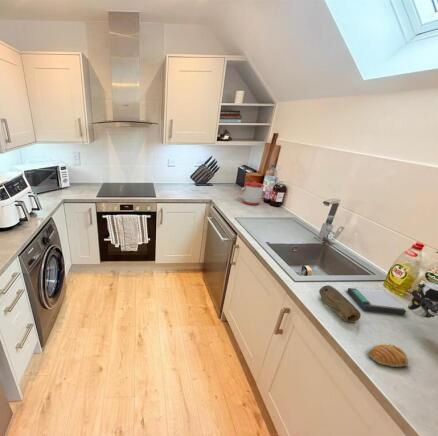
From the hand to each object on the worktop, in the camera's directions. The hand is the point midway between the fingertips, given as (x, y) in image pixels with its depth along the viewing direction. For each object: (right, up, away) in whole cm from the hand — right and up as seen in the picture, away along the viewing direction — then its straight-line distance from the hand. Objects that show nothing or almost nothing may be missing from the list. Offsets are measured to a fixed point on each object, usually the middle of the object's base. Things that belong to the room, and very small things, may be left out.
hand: (418, 291), depth 83 cm
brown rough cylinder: (-20, -11, +11) cm, 26 cm away
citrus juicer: (-5, +39, +125) cm, 132 cm away
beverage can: (0, -8, 0) cm, 8 cm away
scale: (-2, -9, +14) cm, 17 cm away
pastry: (-19, -19, -8) cm, 28 cm away
